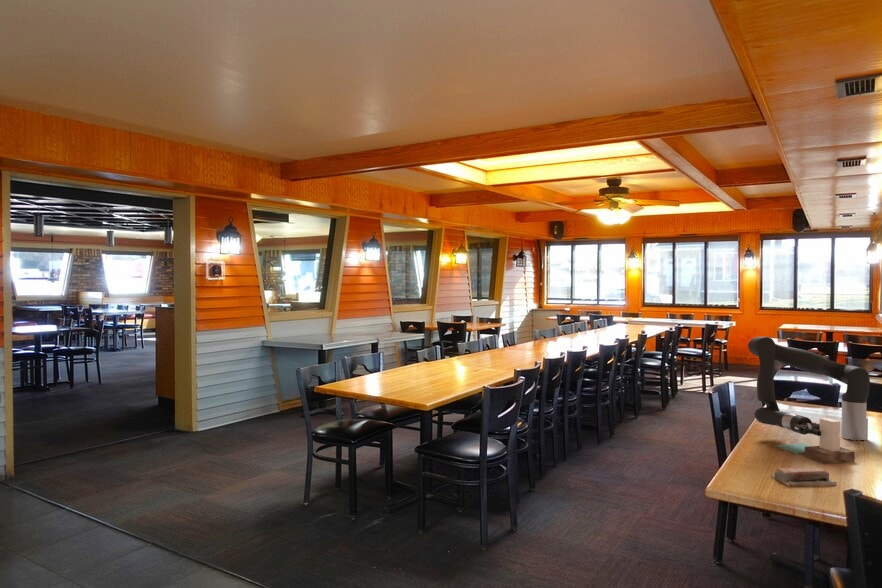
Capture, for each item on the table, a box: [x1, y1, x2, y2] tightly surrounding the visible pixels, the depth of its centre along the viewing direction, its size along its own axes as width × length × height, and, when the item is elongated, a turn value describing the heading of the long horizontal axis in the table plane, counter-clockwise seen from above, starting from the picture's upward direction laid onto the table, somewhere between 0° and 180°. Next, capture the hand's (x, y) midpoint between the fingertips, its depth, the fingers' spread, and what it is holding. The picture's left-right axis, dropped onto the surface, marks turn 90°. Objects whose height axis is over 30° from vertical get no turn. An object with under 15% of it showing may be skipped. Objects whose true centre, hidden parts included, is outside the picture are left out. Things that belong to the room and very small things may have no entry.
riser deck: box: [804, 445, 856, 465], centre depth 234 cm, size 14×10×4 cm
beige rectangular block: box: [818, 417, 841, 452], centre depth 233 cm, size 4×6×12 cm, turn 13°
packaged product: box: [770, 467, 838, 487], centre depth 208 cm, size 18×5×10 cm
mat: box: [776, 442, 811, 455], centre depth 247 cm, size 14×11×1 cm
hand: (829, 433), depth 233 cm, fingers open, 8 cm apart
